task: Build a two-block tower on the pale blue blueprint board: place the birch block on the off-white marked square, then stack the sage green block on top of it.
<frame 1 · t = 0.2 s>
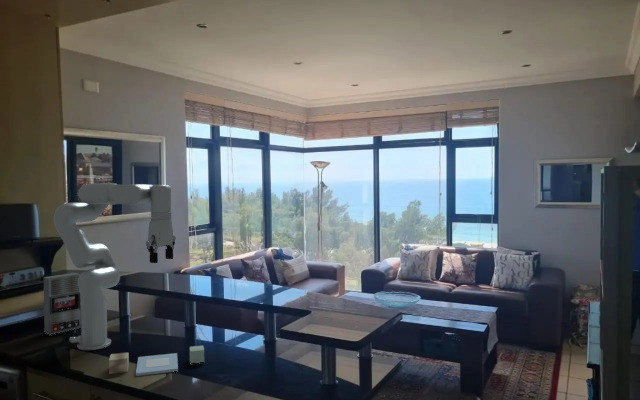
hand: (161, 260, 184), 37 cm above the table, fingers open, 9 cm apart
blueprint board: (157, 365, 175), on the table
sage block: (196, 361, 179), on the table
cassette tape recorder: (63, 331, 214), on the table
birch block: (119, 370, 171), on the table
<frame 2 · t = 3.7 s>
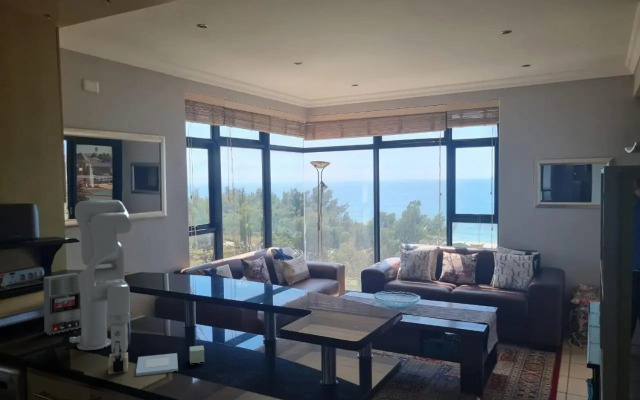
hand: (119, 367, 171), 1 cm above the table, fingers closed on birch block, 6 cm apart
birch block: (118, 369, 171), on the table, touching gripper
everything else where it was.
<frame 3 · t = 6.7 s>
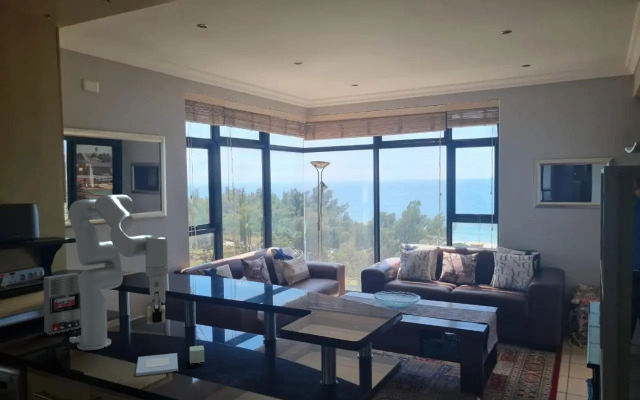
hand: (157, 319, 174), 17 cm above the table, fingers closed on birch block, 6 cm apart
birch block: (156, 321, 174), point 16 cm above the table, touching gripper
everything else where it was.
when the fingers open (3 cm above the table, at t = 9.6 s): birch block drops 1 cm, resting on blueprint board.
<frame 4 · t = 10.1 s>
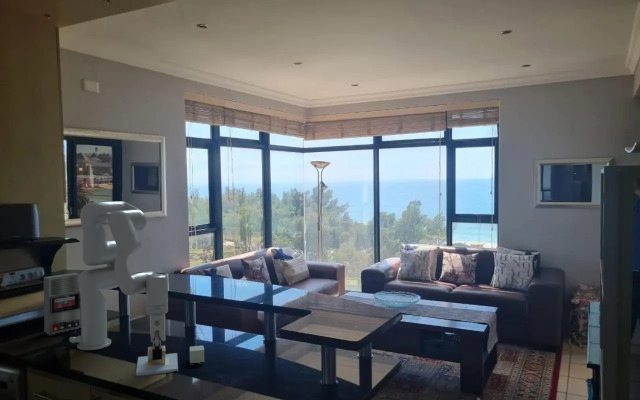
hand: (157, 354, 175), 4 cm above the table, fingers open, 9 cm apart
birch block: (156, 362, 175), point 1 cm above the table, touching blueprint board
everything else where it was.
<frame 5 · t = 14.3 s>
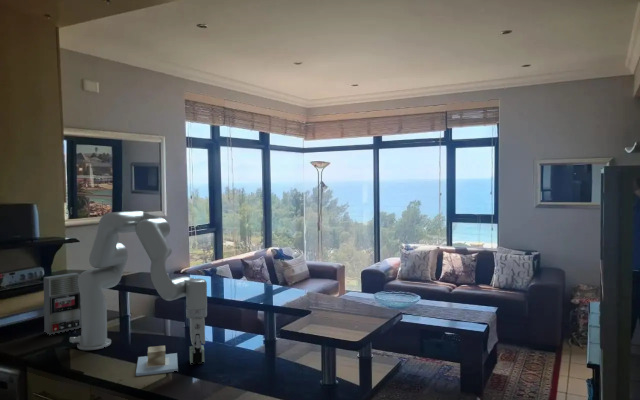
hand: (196, 359, 179), 0 cm above the table, fingers closed on sage block, 4 cm apart
sage block: (196, 361, 179), on the table, touching gripper
everything else where it was.
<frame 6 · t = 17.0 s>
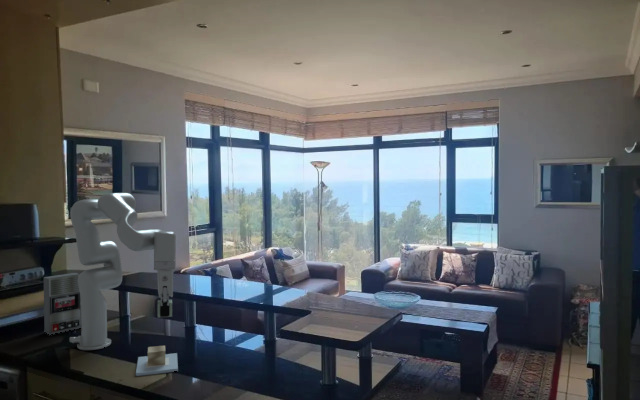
hand: (164, 313, 175), 19 cm above the table, fingers closed on sage block, 4 cm apart
sage block: (164, 315, 175), point 18 cm above the table, touching gripper
everything else where it was.
when the fingers open (8 cm above the table, at t = 19.8 s): sage block drops 1 cm, resting on birch block.
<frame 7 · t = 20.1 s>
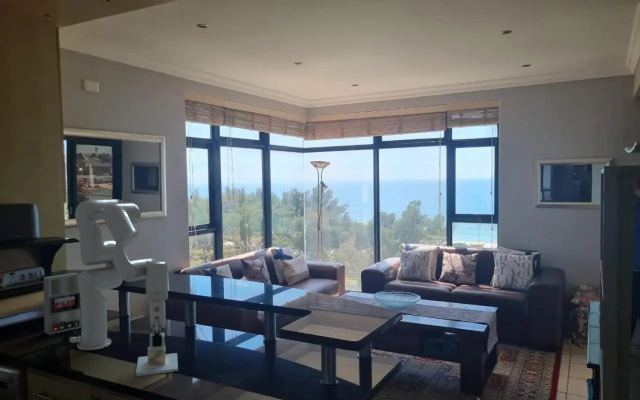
hand: (157, 342, 174), 9 cm above the table, fingers open, 8 cm apart
sage block: (157, 348, 175), point 6 cm above the table, touching birch block
birch block: (156, 362, 175), point 1 cm above the table, touching blueprint board, sage block
everything else where it was.
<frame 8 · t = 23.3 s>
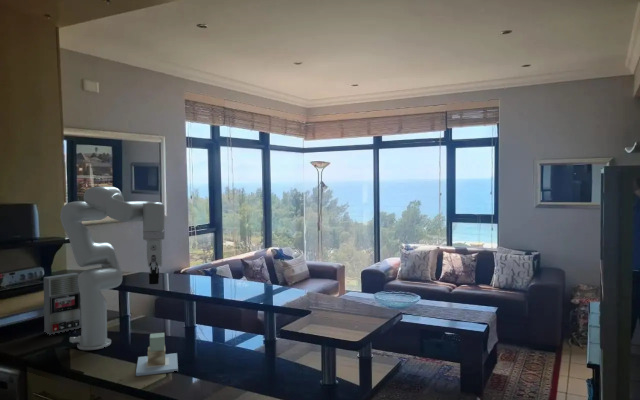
hand: (154, 281, 177), 30 cm above the table, fingers open, 9 cm apart
nothing on the table moved.
at the end: birch block 0.3 cm off-centre on the blueprint board, point 1.1 cm above the blueprint board's base; sage block 0.2 cm off-centre on the birch block, point 5.0 cm above the birch block's base; sage block tilted 0° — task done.
